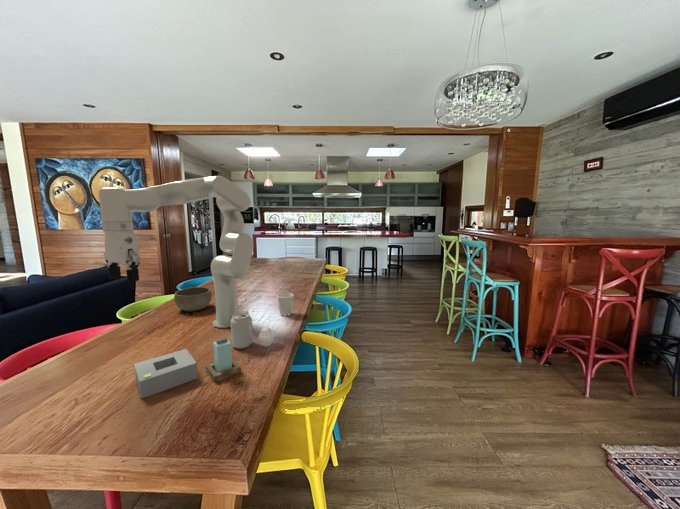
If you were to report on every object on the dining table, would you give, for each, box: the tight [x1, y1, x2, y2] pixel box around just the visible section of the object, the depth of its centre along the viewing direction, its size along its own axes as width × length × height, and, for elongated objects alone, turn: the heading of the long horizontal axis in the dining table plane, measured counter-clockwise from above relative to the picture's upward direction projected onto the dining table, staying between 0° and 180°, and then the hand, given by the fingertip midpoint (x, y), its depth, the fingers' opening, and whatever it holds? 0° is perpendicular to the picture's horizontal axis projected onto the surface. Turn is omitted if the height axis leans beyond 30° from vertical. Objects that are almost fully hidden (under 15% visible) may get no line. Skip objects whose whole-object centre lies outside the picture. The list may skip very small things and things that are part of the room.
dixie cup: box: [276, 292, 294, 316], centre depth 136 cm, size 8×8×10 cm
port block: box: [133, 348, 199, 400], centre depth 82 cm, size 14×12×5 cm
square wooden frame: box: [205, 357, 242, 384], centre depth 86 cm, size 8×8×2 cm
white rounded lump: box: [257, 326, 275, 347], centre depth 104 cm, size 6×6×7 cm
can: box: [230, 313, 254, 350], centre depth 103 cm, size 8×8×12 cm
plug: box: [212, 337, 233, 373], centre depth 85 cm, size 4×4×11 cm
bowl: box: [173, 286, 213, 313], centre depth 144 cm, size 17×18×10 cm
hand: (124, 280), depth 89 cm, fingers open, 9 cm apart
